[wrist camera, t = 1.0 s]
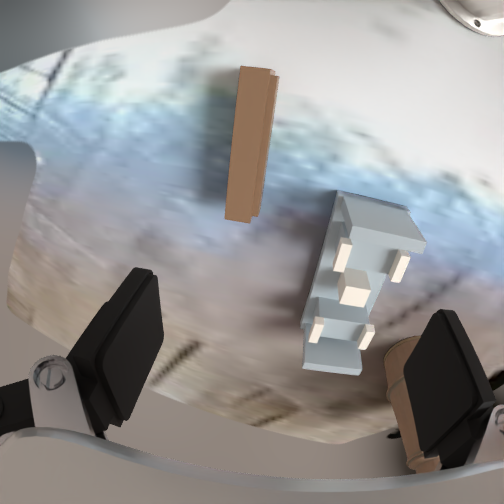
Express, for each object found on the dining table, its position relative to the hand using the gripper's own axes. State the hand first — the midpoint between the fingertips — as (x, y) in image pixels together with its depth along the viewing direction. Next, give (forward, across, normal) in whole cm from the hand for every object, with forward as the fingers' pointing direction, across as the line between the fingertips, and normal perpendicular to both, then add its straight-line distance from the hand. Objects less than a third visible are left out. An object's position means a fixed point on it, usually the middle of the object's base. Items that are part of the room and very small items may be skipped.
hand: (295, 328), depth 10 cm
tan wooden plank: (+24, +4, -2) cm, 24 cm away
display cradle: (+24, -8, +12) cm, 28 cm away
